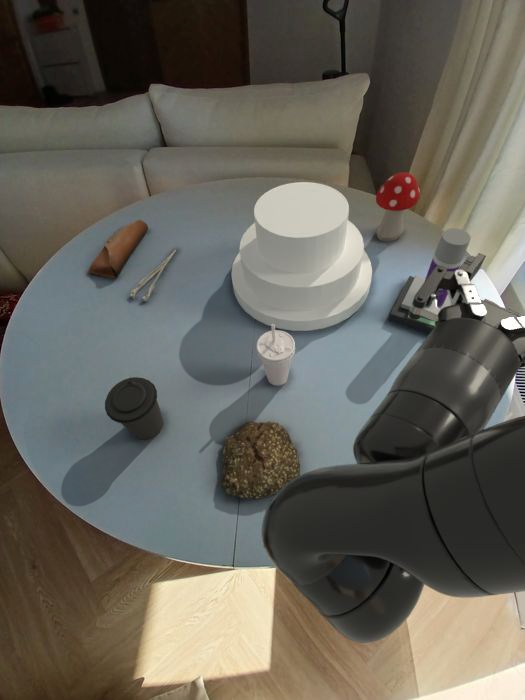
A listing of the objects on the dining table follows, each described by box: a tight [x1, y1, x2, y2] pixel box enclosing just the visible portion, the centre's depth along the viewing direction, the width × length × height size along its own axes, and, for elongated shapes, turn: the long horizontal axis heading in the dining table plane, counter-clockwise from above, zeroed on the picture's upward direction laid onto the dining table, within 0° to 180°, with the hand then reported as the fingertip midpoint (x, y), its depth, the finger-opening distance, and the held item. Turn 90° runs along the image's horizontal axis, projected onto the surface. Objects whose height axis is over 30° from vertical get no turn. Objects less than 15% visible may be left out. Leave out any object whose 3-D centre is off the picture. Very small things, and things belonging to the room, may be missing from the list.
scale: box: [388, 275, 451, 335], centre depth 78 cm, size 12×12×3 cm
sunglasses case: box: [87, 219, 149, 279], centre depth 96 cm, size 18×7×7 cm, turn 167°
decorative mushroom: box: [375, 171, 421, 242], centre depth 88 cm, size 10×9×15 cm
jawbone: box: [129, 249, 177, 302], centre depth 91 cm, size 17×5×2 cm, turn 160°
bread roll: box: [220, 420, 301, 500], centre depth 61 cm, size 13×12×5 cm
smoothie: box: [256, 324, 296, 387], centre depth 66 cm, size 6×6×14 cm
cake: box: [230, 181, 373, 332], centre depth 80 cm, size 30×30×18 cm
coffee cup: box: [104, 376, 164, 441], centre depth 64 cm, size 8×8×10 cm
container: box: [425, 227, 472, 308], centre depth 71 cm, size 5×5×15 cm
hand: (521, 277), depth 40 cm, fingers open, 8 cm apart
